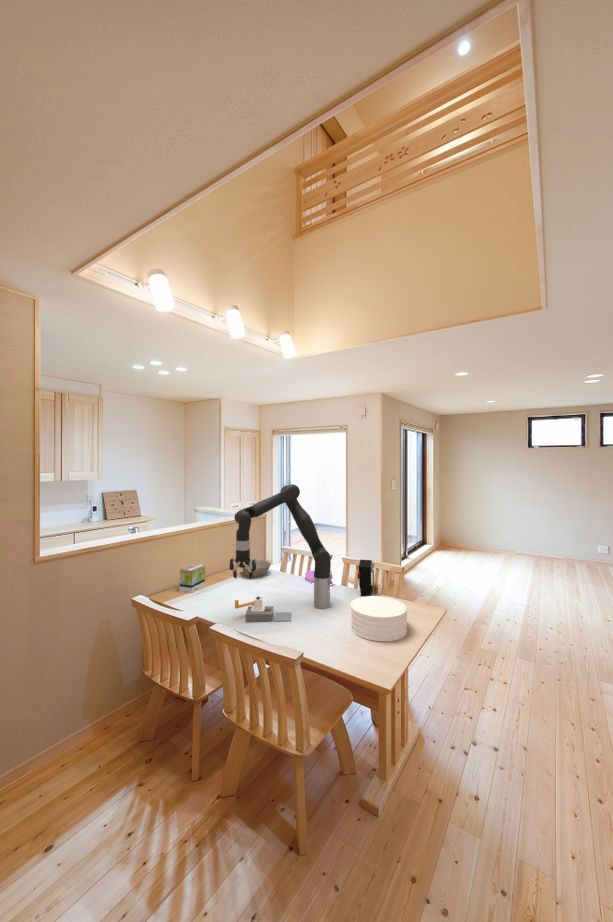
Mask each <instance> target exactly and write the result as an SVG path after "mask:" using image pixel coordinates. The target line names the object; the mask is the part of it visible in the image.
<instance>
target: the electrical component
mask: <svg viewBox="0 0 613 922" xmlns="http://www.w3.org/2000/svg"><path fill="white" fill-rule="evenodd" d="M357 580H358V583H359V586H358V587H359V588H358V589H359V590H360V597H366V596H375V594H374V592H375V591H374V590H375V562H373V560H372V559H359V563H358V572H357Z"/></svg>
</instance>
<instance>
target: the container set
mask: <svg viewBox="0 0 613 922" xmlns="http://www.w3.org/2000/svg"><path fill="white" fill-rule="evenodd" d="M314 571H315V569H314V570H309V571H306V572H305V573H304V575H305V577H304V581H305V580H306V581H308V582H311V583H310V584H312V583H314ZM332 580H333V571H331V570H330V584H333V581H332ZM306 581H305V582H306ZM308 582H307V583H308ZM330 587H333V585H330Z"/></svg>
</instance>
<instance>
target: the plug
mask: <svg viewBox="0 0 613 922" xmlns="http://www.w3.org/2000/svg"><path fill="white" fill-rule="evenodd" d="M253 601H254V606H252V605H251V606H252V609H251V613H264V611H265V606H266V605H263V597H261V596H258V595H257V596H256V597H254V600H253Z"/></svg>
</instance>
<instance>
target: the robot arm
mask: <svg viewBox="0 0 613 922" xmlns="http://www.w3.org/2000/svg"><path fill="white" fill-rule="evenodd" d="M300 490H301V489H300V488H299V486H297V485H296V484H287V485H284V486H282V487H281V489H280V492H278V493H276V494H274V495H272V496H269V497H268V498H264V499H262V500H260V501H258V502H257V503H255V504H253V505H250V506H248V507H245V508H243V509H240V510H237V512H236V513H235V514H234V521H235V522H236V523H237V524H238V529H237V530H236V531H235V536H236V537H235V538H236V539H235V540H236V541H235V558H234V557H232V558H231V559H229V571H232V577H233V579H237V578H238V571H237V570H238V569H239V568H241V569H242V567H243V568H245V567H246V568H247V569H248V570H249V577H248V580H252V579H253V578H252V577H253V571H255V570H256V560H257V559H256V558H254V559H251V541H250V532H251V531H250V530H251V524H252V519H253V518H258V517H260V516H262V515H264V514H266V513H268V512H270V511H271V510H273V509H275V508H276V507H278V506H280V505H283V504H285V505H286V507H287V508H288V510H289V512H290V514H291V515H292V518H293V520H294V521H295V524H296V526H297V528H298V531H299V532H300V534H301V536H302V537H303V538H304V540H305V542H306V544H307V545H308V547H309V549H310V551H311V554H312V558H313V560H314V570H315V571H314V570H313V571H314V584H313V607H314V608H315V609H318V610H326V609H330V608H331V586H330V571H331V569H332V568H331V566H332V565H331V564H332V560H331V559H332V558H331V554H330V553H329V551H328V550H327V549H326V547H325V546H324V545H323V543H322V541H321V539H320V538H319V534H318V530H317V528H316V525H315V523H314V522H313V519H312V517H311V516H310V514H309V513H308V512H307V511H306V510H305V509H304V508H303V506H302V505H301V504H300V502H299V500H298V498H299V496H300V494H301V491H300ZM250 562H251V564H252V568H251V565H250V564H249V563H250ZM235 563H236V564H235ZM234 565H235V566H234Z"/></svg>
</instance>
